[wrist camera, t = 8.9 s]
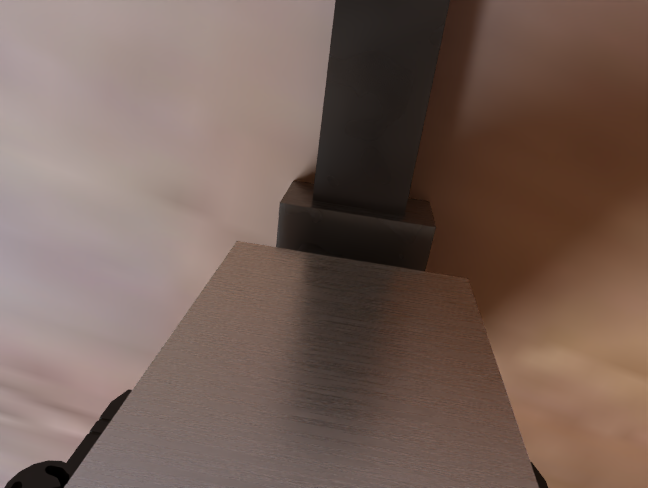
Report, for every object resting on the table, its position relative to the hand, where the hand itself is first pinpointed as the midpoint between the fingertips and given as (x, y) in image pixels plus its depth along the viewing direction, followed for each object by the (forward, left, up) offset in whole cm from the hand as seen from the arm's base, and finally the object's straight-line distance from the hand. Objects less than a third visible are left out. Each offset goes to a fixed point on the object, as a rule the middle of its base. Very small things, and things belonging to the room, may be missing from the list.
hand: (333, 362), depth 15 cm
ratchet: (-5, -1, -5) cm, 7 cm away
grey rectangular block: (0, 0, -1) cm, 1 cm away
